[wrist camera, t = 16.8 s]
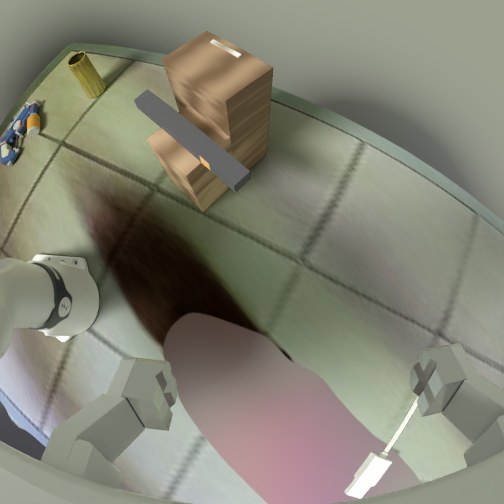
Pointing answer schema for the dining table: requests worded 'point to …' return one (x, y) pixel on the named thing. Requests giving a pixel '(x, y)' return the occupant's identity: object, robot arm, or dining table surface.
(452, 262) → the dining table surface
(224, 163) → the bar
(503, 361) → the dining table surface
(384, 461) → the charging cable
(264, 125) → the stand
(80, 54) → the vase
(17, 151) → the toy blaster gun
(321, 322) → the dining table surface
